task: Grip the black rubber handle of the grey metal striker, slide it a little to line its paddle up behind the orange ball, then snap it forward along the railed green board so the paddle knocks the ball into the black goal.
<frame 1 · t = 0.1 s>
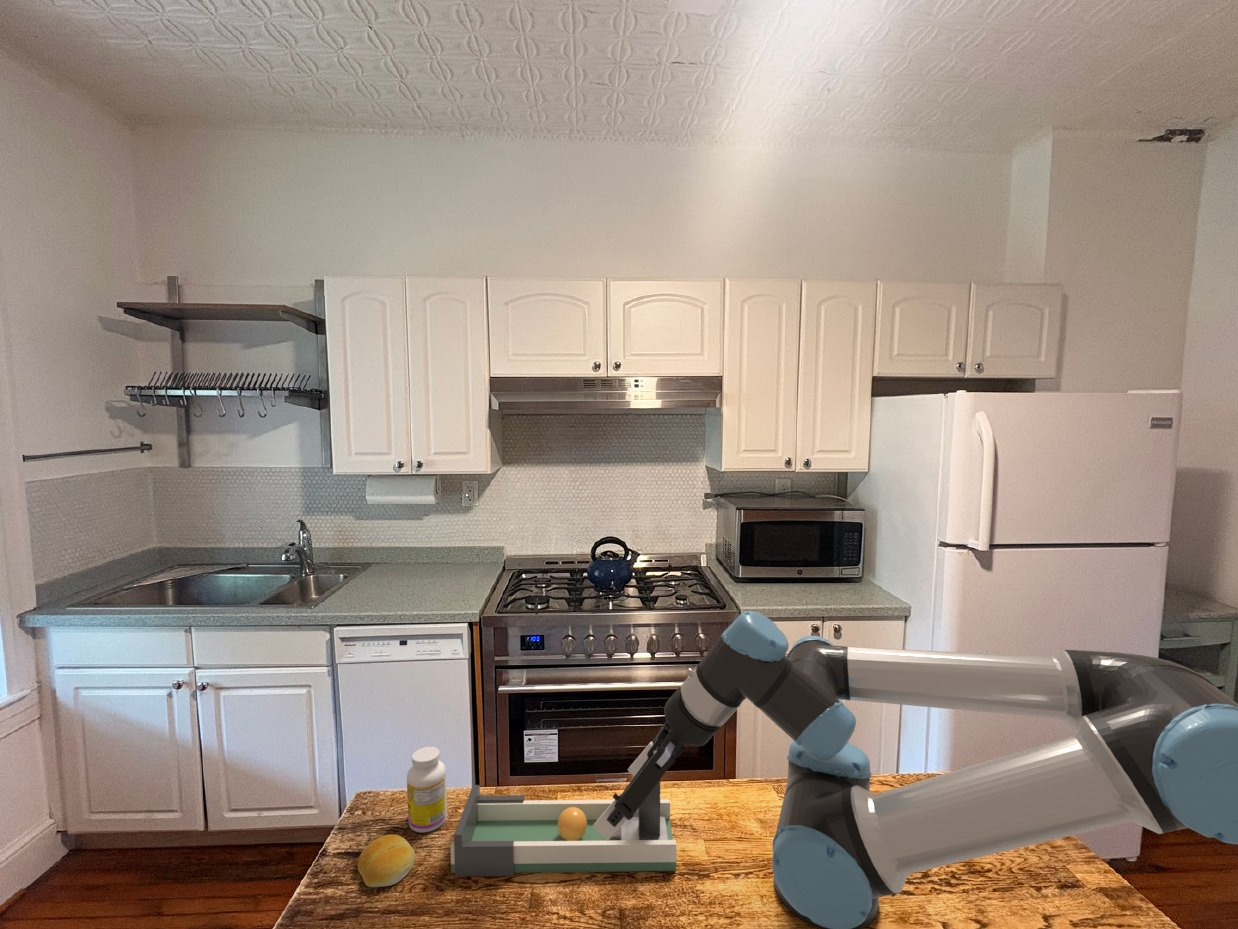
hand: (619, 801, 87), 15 cm above the countertop, tool tilted 35°, fingers open, 13 cm apart
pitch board: (566, 846, 98), on the countertop
goal: (495, 847, 98), on the countertop
striker: (639, 800, 98), point 8 cm above the countertop, slide at 0.0 cm
supplement bottle: (427, 822, 105), on the countertop
bread roll: (386, 869, 94), on the countertop
ball: (572, 824, 98), point 4 cm above the countertop, touching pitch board
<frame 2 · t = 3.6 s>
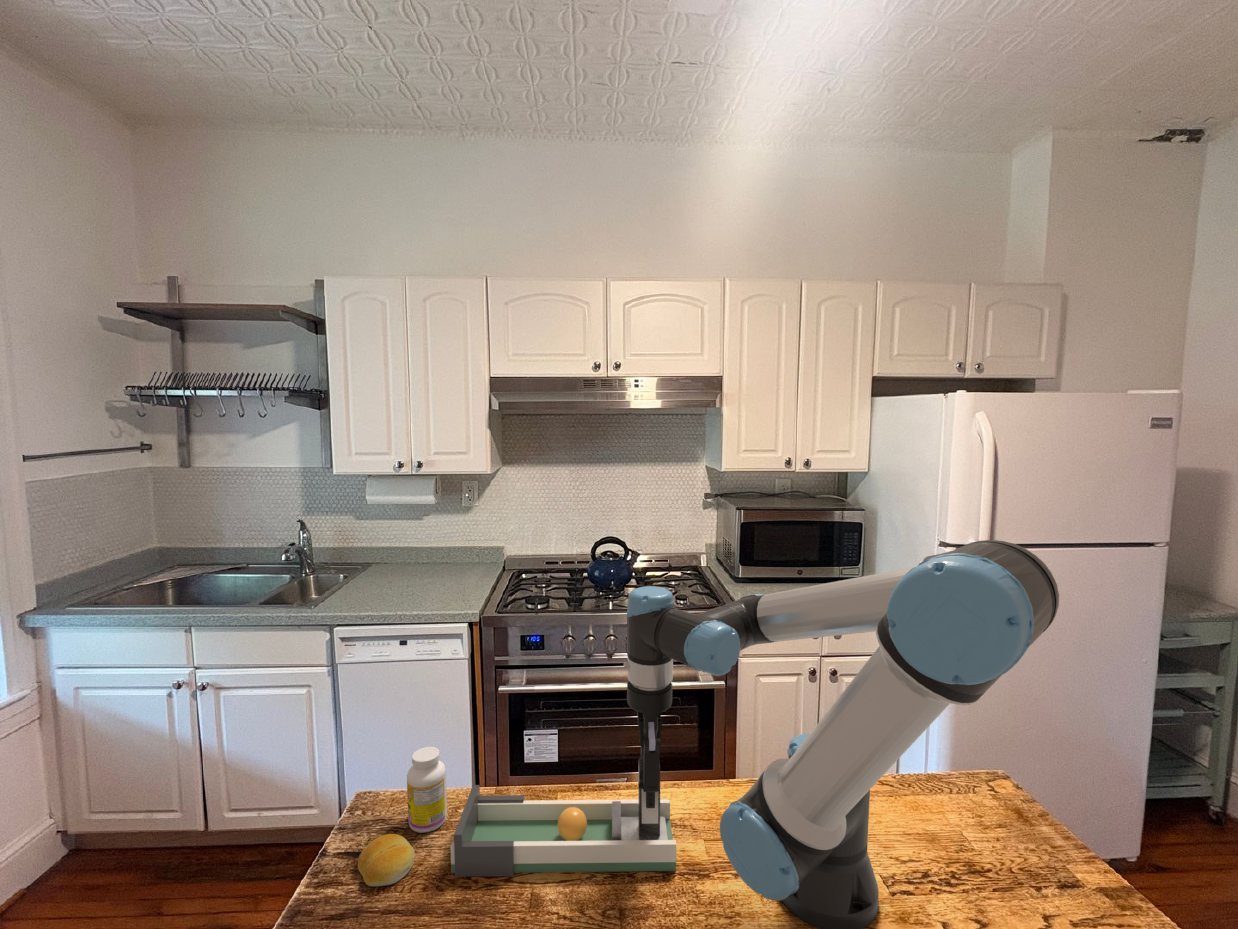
hand: (649, 815, 98), 6 cm above the countertop, tool pointing down, fingers closed on striker, 2 cm apart
striker: (639, 800, 98), point 8 cm above the countertop, slide at 0.0 cm, touching gripper
everything else where it was.
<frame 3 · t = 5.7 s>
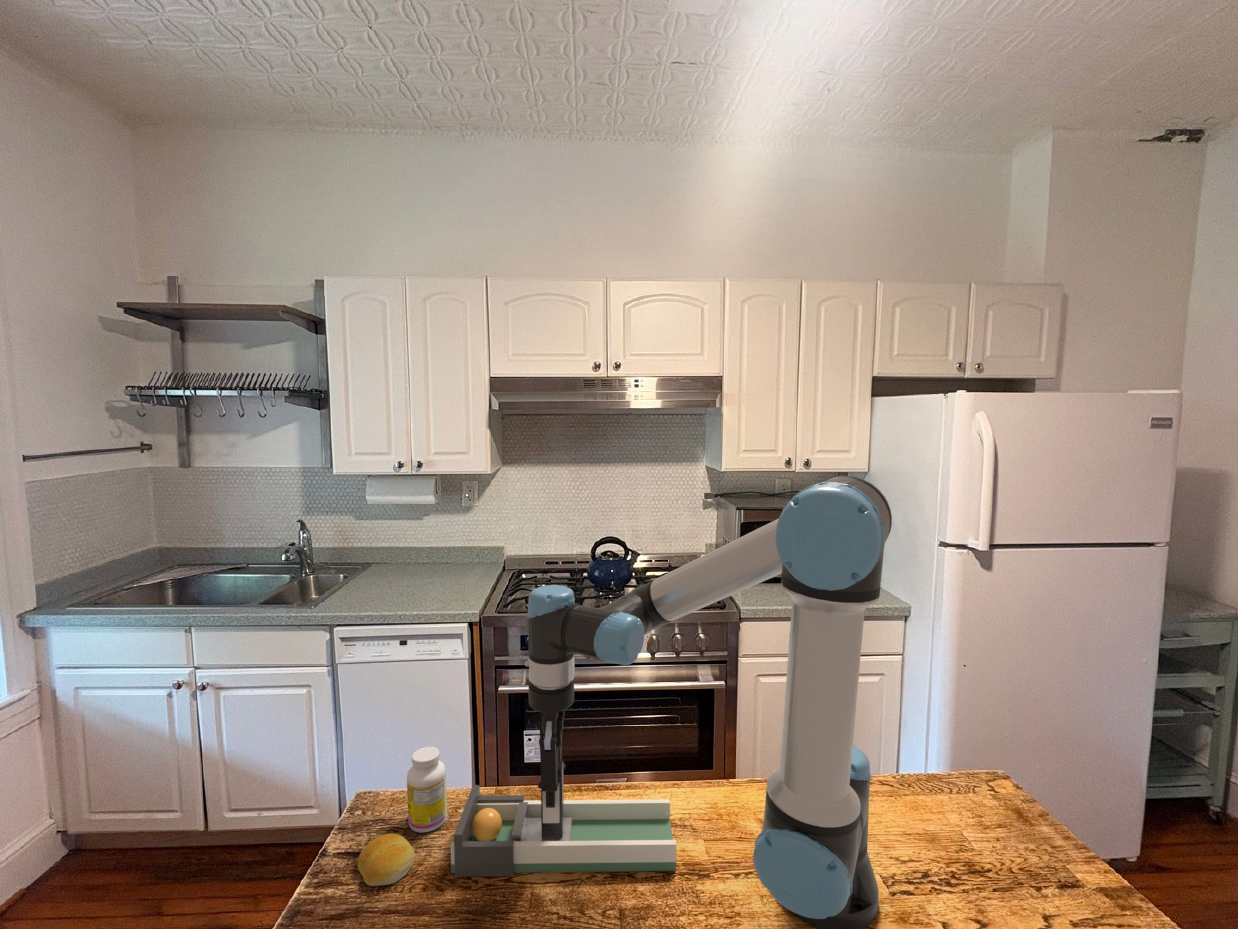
hand: (552, 814, 98), 6 cm above the countertop, tool pointing down, fingers closed on striker, 2 cm apart
striker: (542, 801, 98), point 8 cm above the countertop, slide at 16.3 cm, touching gripper
ball: (486, 825, 98), point 4 cm above the countertop, tilted 39°, touching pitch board
everything else where it was.
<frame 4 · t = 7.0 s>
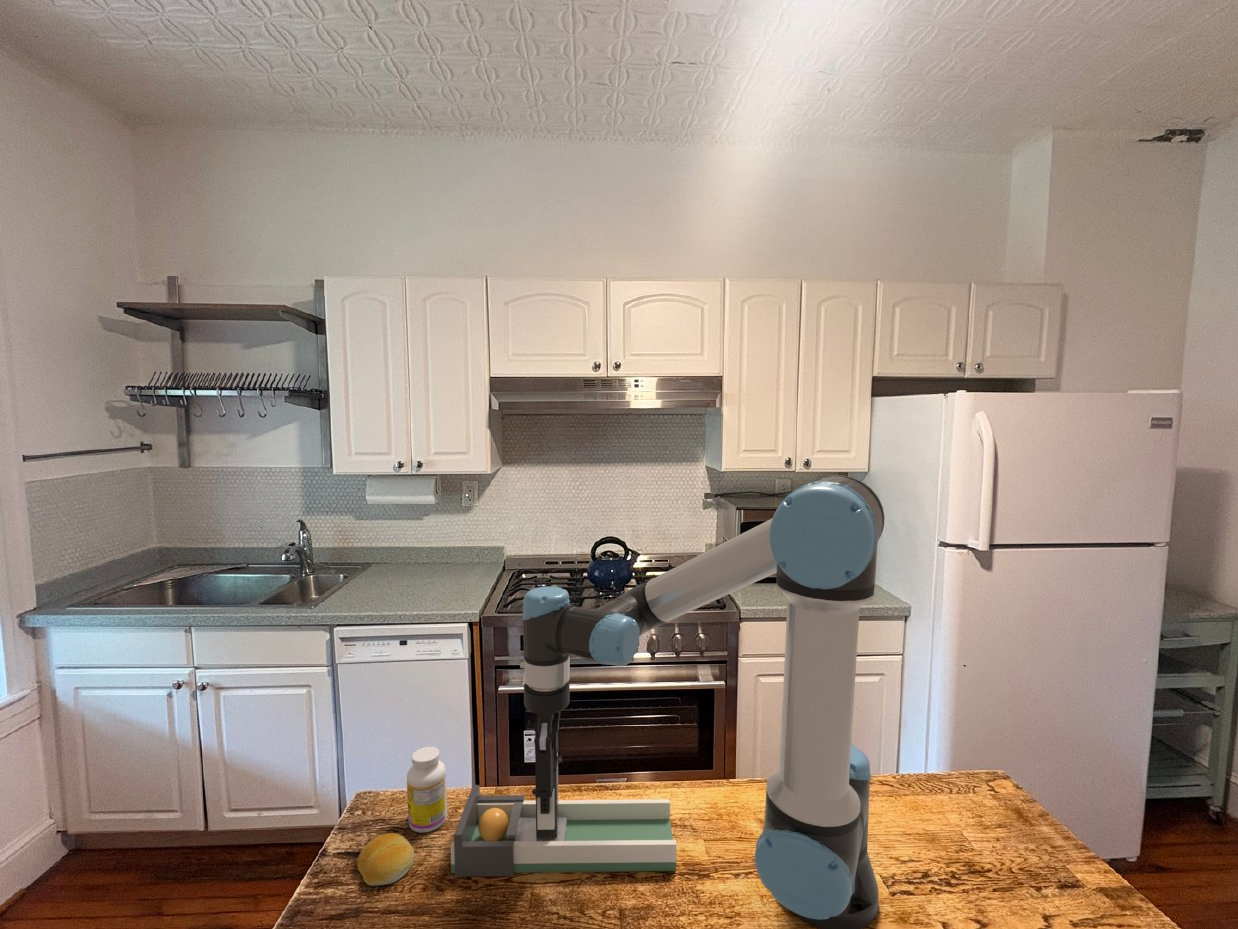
hand: (548, 814, 98), 6 cm above the countertop, tool pointing down, fingers open, 6 cm apart
striker: (537, 801, 98), point 8 cm above the countertop, slide at 17.2 cm
ball: (493, 825, 98), point 4 cm above the countertop, tilted 64°, touching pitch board
everything else where it was.
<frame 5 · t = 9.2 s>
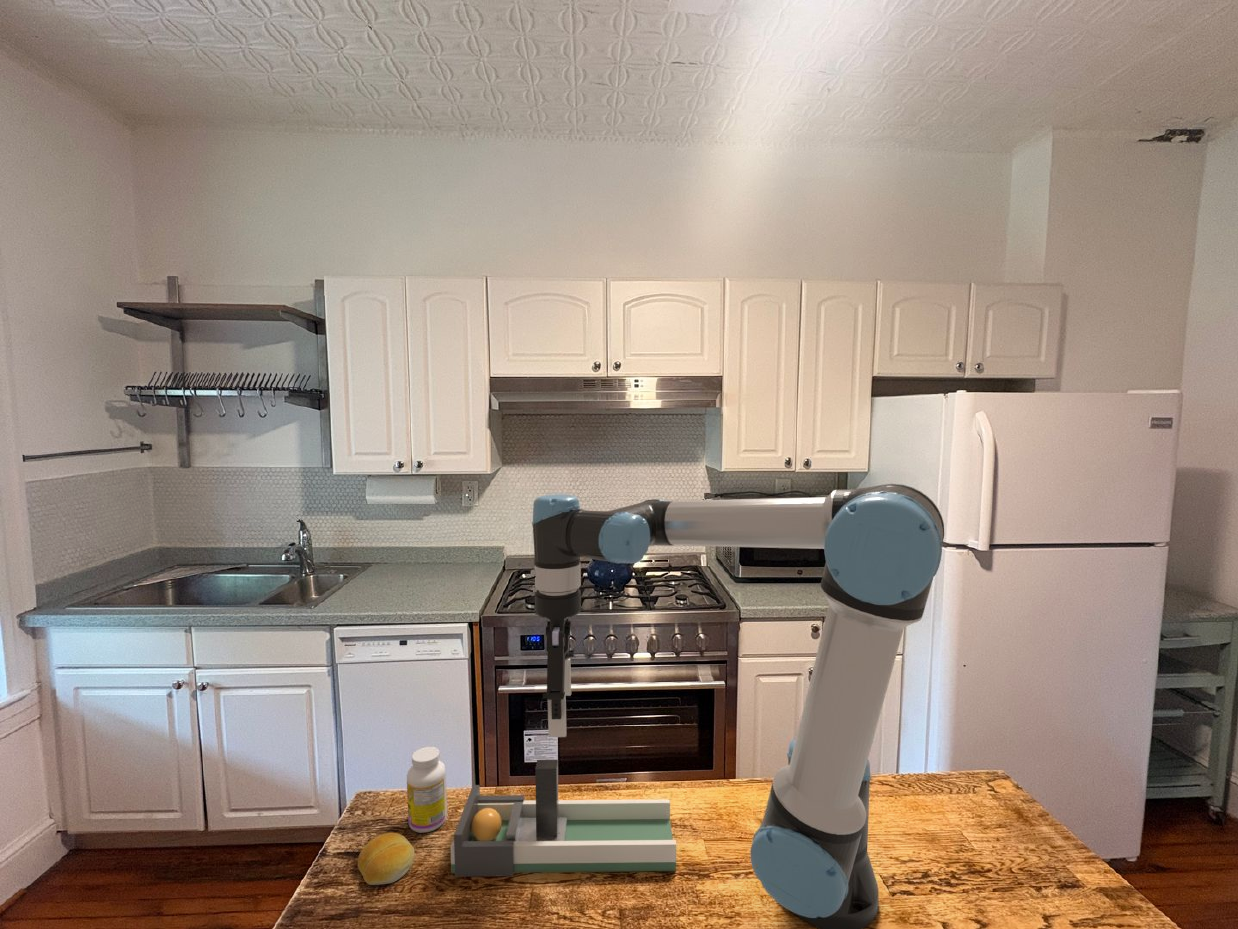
hand: (560, 714, 97), 23 cm above the countertop, tool pointing down, fingers open, 13 cm apart
ball: (486, 825, 98), point 4 cm above the countertop, tilted 37°, touching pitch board
everything else where it was.
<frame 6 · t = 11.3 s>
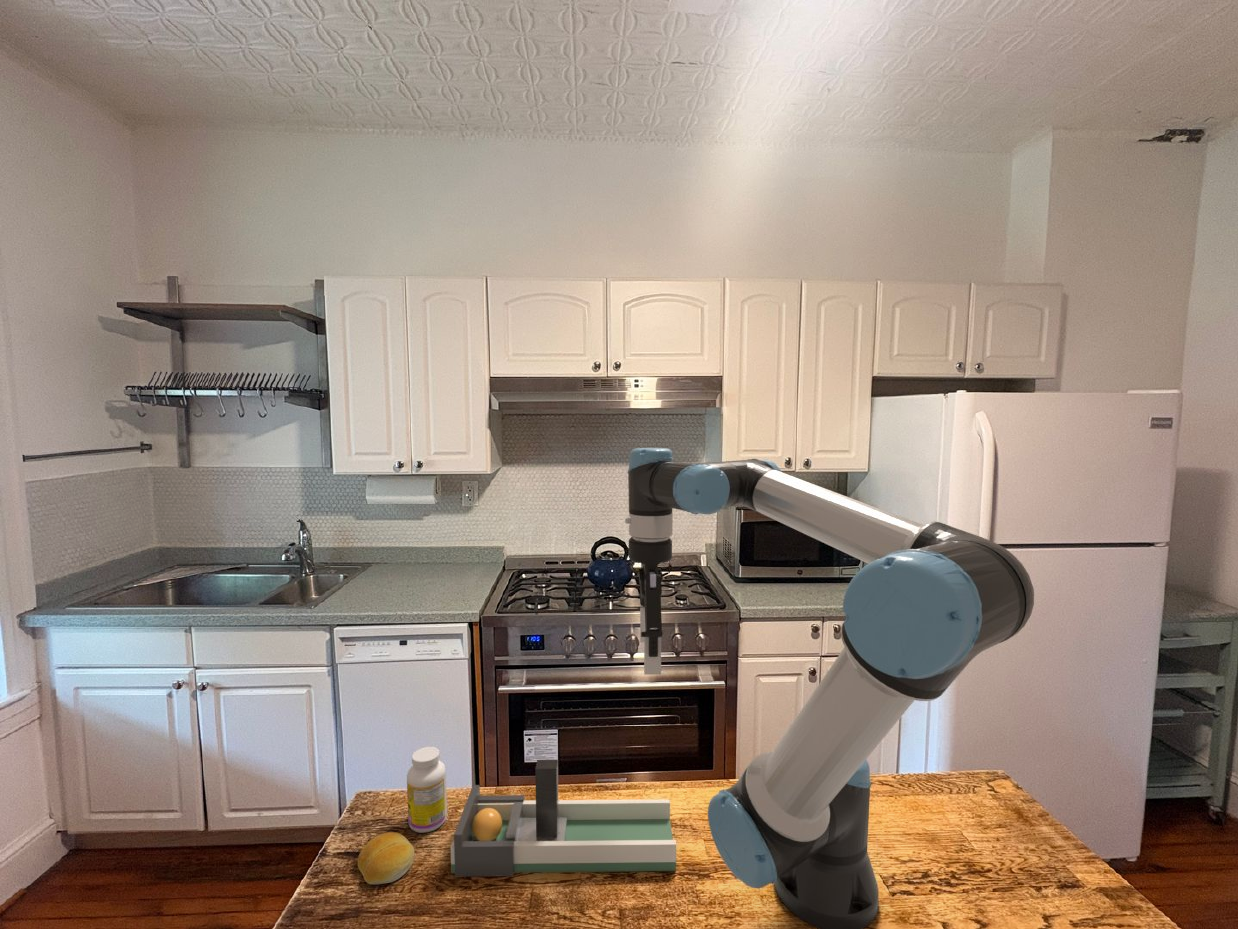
hand: (649, 656, 102), 31 cm above the countertop, tool pointing down, fingers open, 13 cm apart
nothing on the countertop moved.
at the end: ball 1.4 cm from the goal (horizontally); striker slide at 17.2 cm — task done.
